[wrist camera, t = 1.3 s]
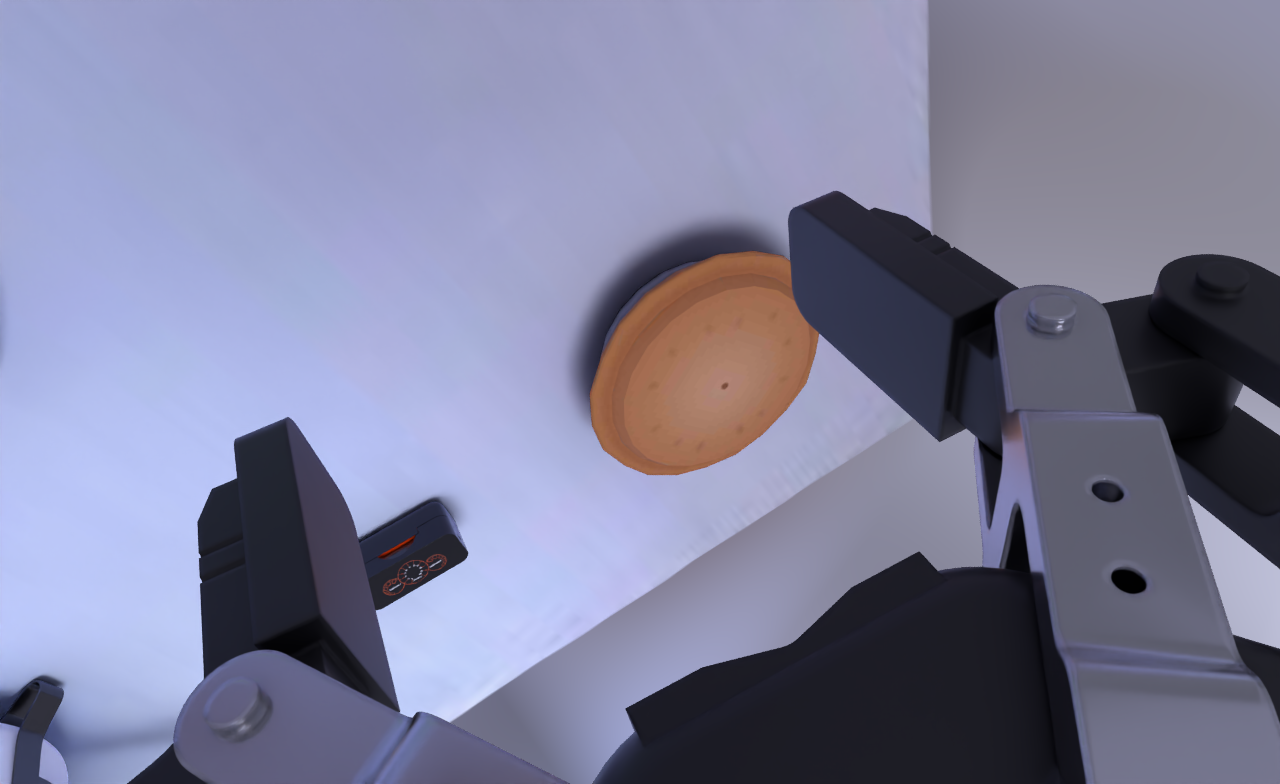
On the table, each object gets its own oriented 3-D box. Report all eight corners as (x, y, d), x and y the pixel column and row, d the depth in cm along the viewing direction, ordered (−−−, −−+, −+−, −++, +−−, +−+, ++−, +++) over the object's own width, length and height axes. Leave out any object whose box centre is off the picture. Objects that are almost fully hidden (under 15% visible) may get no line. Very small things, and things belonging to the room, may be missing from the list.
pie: (610, 479, 55) (644, 529, 51) (528, 309, 44) (563, 358, 40) (801, 366, 57) (846, 407, 53) (768, 178, 46) (821, 214, 43)
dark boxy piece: (326, 556, 47) (336, 597, 45) (436, 493, 48) (451, 530, 46) (365, 595, 51) (377, 635, 48) (468, 535, 52) (484, 572, 49)
